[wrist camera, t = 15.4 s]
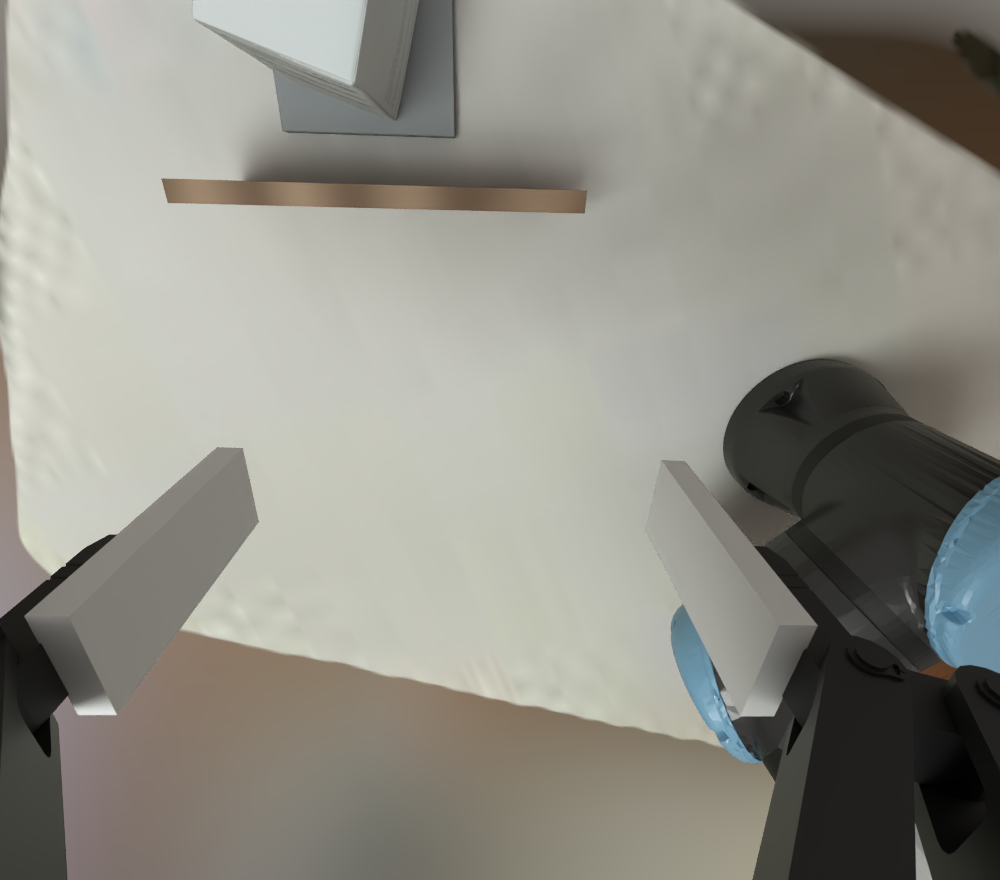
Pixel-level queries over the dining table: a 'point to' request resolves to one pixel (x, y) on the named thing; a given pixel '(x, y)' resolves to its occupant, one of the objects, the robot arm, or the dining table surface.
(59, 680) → the robot arm
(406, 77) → the mat
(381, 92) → the supplement box
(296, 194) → the walnut screen
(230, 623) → the dining table surface
